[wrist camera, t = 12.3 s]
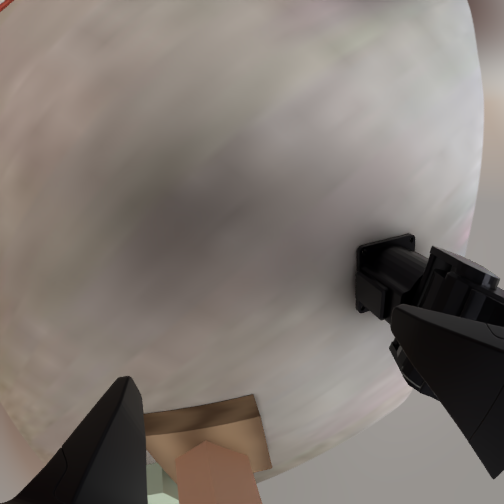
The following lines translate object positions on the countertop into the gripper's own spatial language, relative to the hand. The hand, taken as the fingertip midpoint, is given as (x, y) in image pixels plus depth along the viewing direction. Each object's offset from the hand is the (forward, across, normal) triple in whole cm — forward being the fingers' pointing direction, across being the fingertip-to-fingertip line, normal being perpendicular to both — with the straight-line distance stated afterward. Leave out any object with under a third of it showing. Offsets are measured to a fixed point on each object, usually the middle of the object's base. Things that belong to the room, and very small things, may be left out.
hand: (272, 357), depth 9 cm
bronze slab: (+13, +6, +22) cm, 26 cm away
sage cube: (+13, +15, +29) cm, 36 cm away
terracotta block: (+10, +6, +22) cm, 25 cm away
